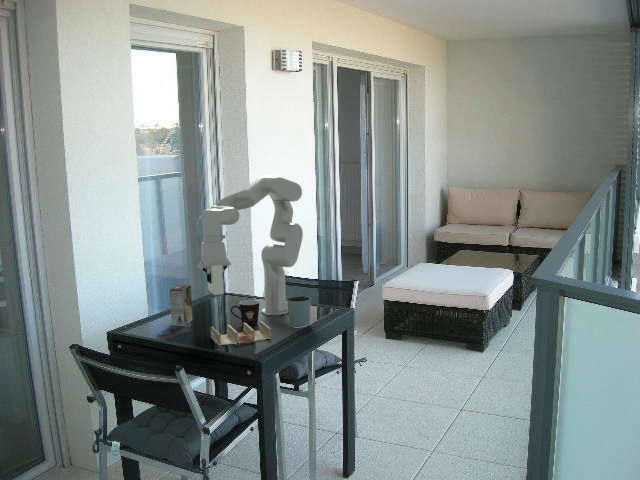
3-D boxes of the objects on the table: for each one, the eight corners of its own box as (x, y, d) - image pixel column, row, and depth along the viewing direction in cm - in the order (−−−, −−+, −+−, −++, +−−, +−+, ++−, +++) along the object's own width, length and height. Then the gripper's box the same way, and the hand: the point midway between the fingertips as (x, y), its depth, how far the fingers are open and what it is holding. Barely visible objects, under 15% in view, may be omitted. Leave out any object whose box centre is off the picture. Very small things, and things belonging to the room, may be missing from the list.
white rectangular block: (217, 288, 294) (216, 261, 292) (223, 293, 285) (222, 265, 283) (208, 290, 292) (206, 262, 290) (214, 295, 283) (212, 266, 281)
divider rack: (261, 331, 287) (261, 320, 286) (271, 340, 275) (271, 328, 274) (211, 337, 279) (210, 326, 279) (219, 346, 267) (219, 335, 266)
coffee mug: (263, 323, 300) (262, 300, 298) (255, 328, 292) (254, 305, 290) (239, 321, 303) (238, 299, 302) (230, 326, 295) (229, 303, 294)
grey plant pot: (315, 324, 297) (314, 296, 296) (304, 330, 288) (304, 302, 286) (294, 321, 302) (293, 294, 300) (283, 327, 293) (282, 300, 291)
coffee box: (179, 320, 307) (177, 284, 305) (193, 320, 306) (191, 285, 303) (171, 325, 298) (169, 289, 296) (184, 326, 297) (183, 289, 295)
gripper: (230, 235, 291) (232, 278, 294) (190, 239, 285) (193, 282, 288) (235, 238, 285) (237, 281, 288) (194, 242, 278) (197, 286, 281)
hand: (215, 281), depth 288 cm, fingers closed on white rectangular block, 4 cm apart
